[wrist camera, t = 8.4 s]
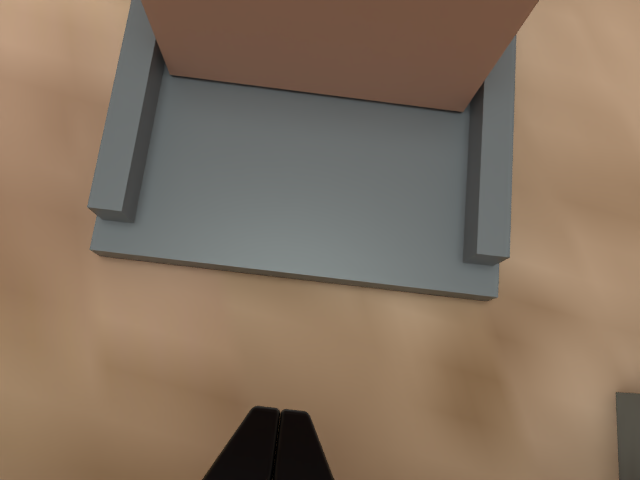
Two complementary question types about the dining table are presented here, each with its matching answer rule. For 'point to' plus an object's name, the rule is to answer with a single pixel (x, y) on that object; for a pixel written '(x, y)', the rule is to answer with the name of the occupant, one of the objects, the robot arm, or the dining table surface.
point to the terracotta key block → (341, 45)
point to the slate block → (628, 435)
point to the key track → (304, 179)
